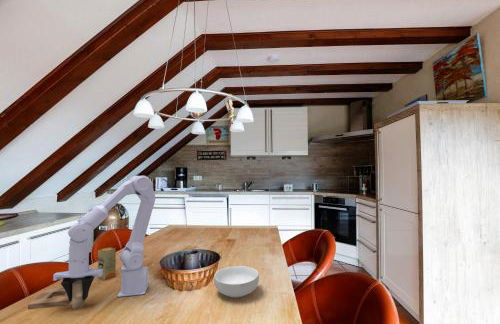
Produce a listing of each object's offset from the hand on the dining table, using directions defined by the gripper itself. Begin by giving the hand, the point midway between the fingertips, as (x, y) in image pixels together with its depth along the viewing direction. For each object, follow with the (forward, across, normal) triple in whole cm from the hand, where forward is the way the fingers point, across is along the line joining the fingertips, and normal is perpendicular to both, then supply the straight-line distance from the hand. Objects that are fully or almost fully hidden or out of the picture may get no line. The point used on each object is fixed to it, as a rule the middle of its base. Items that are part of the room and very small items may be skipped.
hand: (78, 299), depth 88 cm
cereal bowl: (+3, -54, +2) cm, 54 cm away
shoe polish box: (+3, -1, -25) cm, 25 cm away
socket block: (+2, +10, -8) cm, 13 cm away
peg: (+2, 0, 0) cm, 2 cm away
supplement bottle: (+3, +10, -25) cm, 27 cm away
